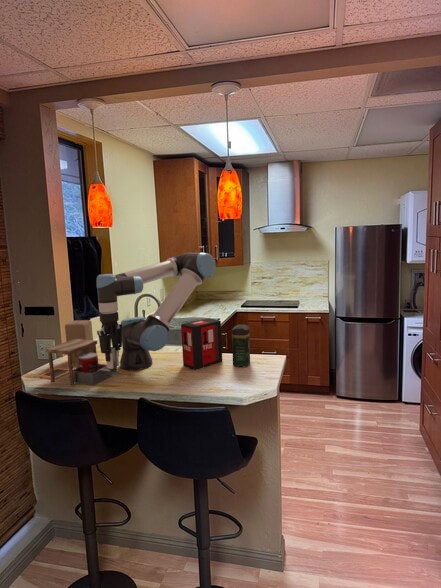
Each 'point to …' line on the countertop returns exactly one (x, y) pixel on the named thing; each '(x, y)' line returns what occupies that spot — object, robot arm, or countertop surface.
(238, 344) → the coffee jar
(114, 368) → the gray open tray
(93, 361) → the canned food
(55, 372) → the frame
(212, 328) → the cleaning product box
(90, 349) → the small wooden table
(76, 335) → the wooden block
